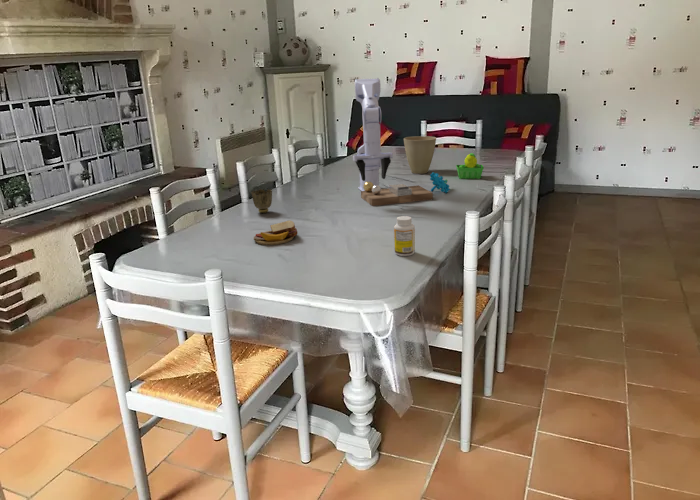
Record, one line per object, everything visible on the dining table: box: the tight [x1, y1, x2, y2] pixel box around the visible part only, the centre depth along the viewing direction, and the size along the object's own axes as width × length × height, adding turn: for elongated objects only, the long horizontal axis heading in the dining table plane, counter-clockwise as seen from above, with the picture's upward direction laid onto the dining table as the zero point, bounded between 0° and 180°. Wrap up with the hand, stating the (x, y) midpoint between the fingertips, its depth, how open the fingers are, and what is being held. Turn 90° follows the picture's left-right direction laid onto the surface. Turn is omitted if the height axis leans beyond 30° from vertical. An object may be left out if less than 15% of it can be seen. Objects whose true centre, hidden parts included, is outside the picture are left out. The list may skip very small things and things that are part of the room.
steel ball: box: [372, 185, 382, 194], centre depth 212 cm, size 4×4×4 cm
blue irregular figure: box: [429, 171, 451, 194], centre depth 224 cm, size 11×6×10 cm
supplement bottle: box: [393, 215, 416, 257], centre depth 154 cm, size 6×6×10 cm
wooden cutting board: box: [360, 185, 434, 207], centre depth 215 cm, size 14×24×2 cm, turn 105°
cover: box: [389, 183, 412, 196], centre depth 213 cm, size 10×6×3 cm, turn 15°
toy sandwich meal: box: [253, 220, 298, 246], centre depth 172 cm, size 12×14×5 cm
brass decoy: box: [363, 181, 374, 192], centre depth 217 cm, size 4×4×4 cm
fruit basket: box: [455, 152, 485, 180], centre depth 245 cm, size 11×9×11 cm
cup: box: [251, 188, 273, 214], centre depth 203 cm, size 8×7×8 cm
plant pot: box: [403, 135, 437, 175], centre depth 260 cm, size 15×15×16 cm
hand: (373, 179), depth 206 cm, fingers open, 7 cm apart
